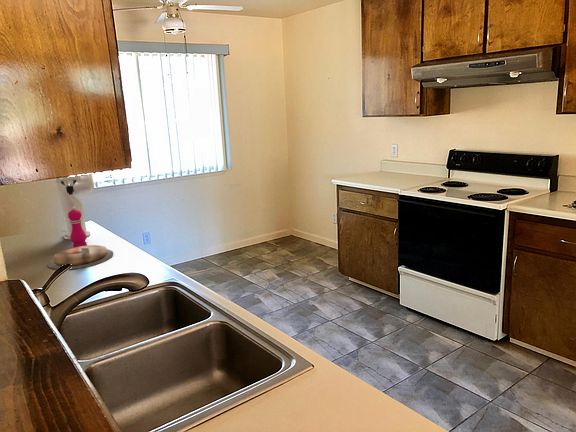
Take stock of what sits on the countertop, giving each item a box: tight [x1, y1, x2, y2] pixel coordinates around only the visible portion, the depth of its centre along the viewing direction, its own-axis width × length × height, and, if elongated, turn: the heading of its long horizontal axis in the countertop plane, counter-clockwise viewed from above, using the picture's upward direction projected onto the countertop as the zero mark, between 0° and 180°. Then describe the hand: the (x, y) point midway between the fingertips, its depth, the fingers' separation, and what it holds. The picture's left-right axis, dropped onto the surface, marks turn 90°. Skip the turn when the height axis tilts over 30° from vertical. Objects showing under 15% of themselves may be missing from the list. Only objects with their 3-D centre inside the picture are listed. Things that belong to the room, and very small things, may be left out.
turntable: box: [52, 244, 108, 266], centre depth 205 cm, size 22×22×6 cm
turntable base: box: [47, 248, 114, 270], centre depth 206 cm, size 27×27×1 cm
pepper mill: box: [68, 207, 88, 248], centre depth 223 cm, size 7×7×20 cm
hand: (70, 194), depth 218 cm, fingers closed
